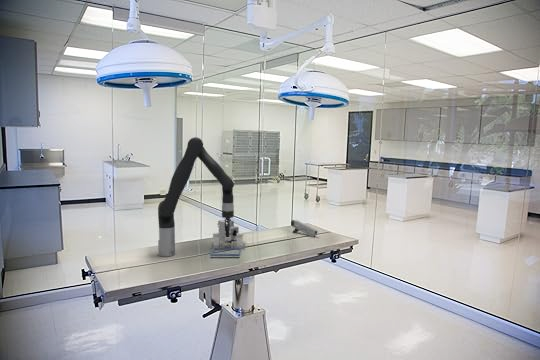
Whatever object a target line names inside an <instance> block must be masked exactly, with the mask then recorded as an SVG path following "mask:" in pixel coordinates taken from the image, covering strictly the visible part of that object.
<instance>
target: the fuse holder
mask: <svg viewBox="0 0 540 360" xmlns="http://www.w3.org/2000/svg"><path fill="white" fill-rule="evenodd" d="M230 242H231V244H230V245H228V244H227V245H226V242H225V241H220V240H219V244H220V247H219V248H237V240H236V241H234V240H232V241H230ZM245 249H246V241H244V240H243V248H241V250H245ZM209 250H213V240H212V241H210V248H209Z"/></svg>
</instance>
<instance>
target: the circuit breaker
mask: <svg viewBox="0 0 540 360" xmlns="http://www.w3.org/2000/svg"><path fill="white" fill-rule="evenodd" d="M225 220H226V218H225V219H222V220H217V228H218V233H220V236H219V242H220V241H222V242H223V241H225V223H224V221H225ZM237 233H240V232H239V226H236V225H235V221H234V220H232V219H231V241H230V242H232V241H234V240H235V239H237ZM225 243H228V241H225Z"/></svg>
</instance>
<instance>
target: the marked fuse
mask: <svg viewBox="0 0 540 360" xmlns="http://www.w3.org/2000/svg"><path fill="white" fill-rule="evenodd" d="M226 229H228V228H226ZM229 230H230V231H229V237H226V231H225V241H227V242H232V241H231V226H230V228H229Z"/></svg>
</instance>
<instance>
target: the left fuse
mask: <svg viewBox="0 0 540 360" xmlns="http://www.w3.org/2000/svg"><path fill="white" fill-rule="evenodd" d="M219 236H220V233H219V232H213V233H212V238H213V239H212V241H213V248H219V247H220V240H219Z"/></svg>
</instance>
